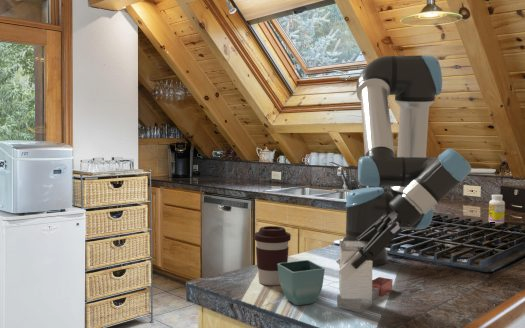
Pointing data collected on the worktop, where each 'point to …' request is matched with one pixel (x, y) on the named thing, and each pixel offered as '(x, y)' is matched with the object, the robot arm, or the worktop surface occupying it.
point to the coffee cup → (271, 252)
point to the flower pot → (301, 281)
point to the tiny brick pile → (359, 305)
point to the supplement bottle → (496, 209)
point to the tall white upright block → (361, 279)
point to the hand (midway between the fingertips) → (341, 270)
